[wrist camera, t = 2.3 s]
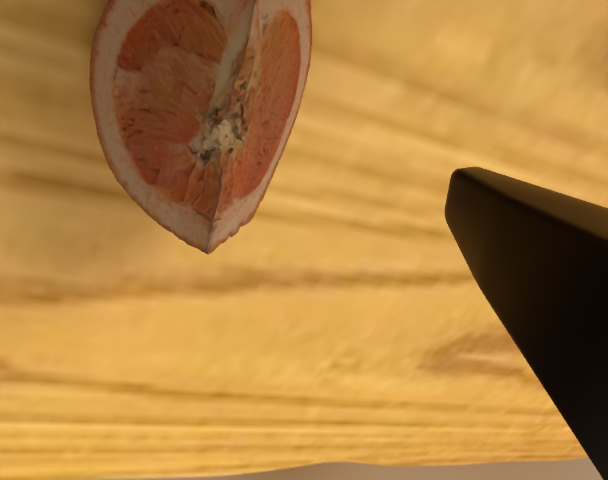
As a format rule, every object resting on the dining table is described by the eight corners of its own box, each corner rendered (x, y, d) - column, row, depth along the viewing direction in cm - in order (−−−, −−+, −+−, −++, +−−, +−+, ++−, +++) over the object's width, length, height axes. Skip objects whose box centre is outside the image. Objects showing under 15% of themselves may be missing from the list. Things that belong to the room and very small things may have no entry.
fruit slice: (266, 188, 22) (300, 262, 18) (84, 171, 20) (79, 254, 16) (322, -40, 18) (382, -6, 14) (99, -97, 15) (97, -76, 12)
